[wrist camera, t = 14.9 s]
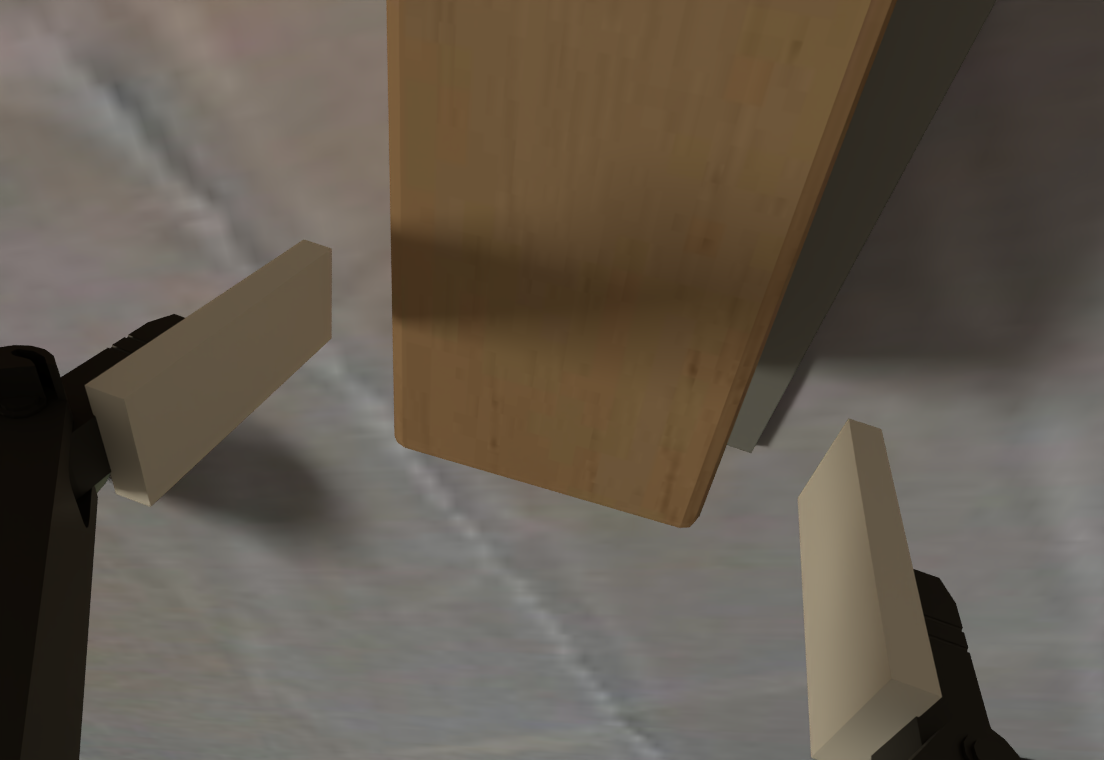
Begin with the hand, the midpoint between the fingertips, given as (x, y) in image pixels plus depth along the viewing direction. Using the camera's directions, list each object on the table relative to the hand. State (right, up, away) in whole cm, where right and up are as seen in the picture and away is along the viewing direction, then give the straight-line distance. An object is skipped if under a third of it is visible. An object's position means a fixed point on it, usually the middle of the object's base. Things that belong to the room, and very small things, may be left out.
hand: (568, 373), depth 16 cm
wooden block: (0, -1, +8) cm, 8 cm away
